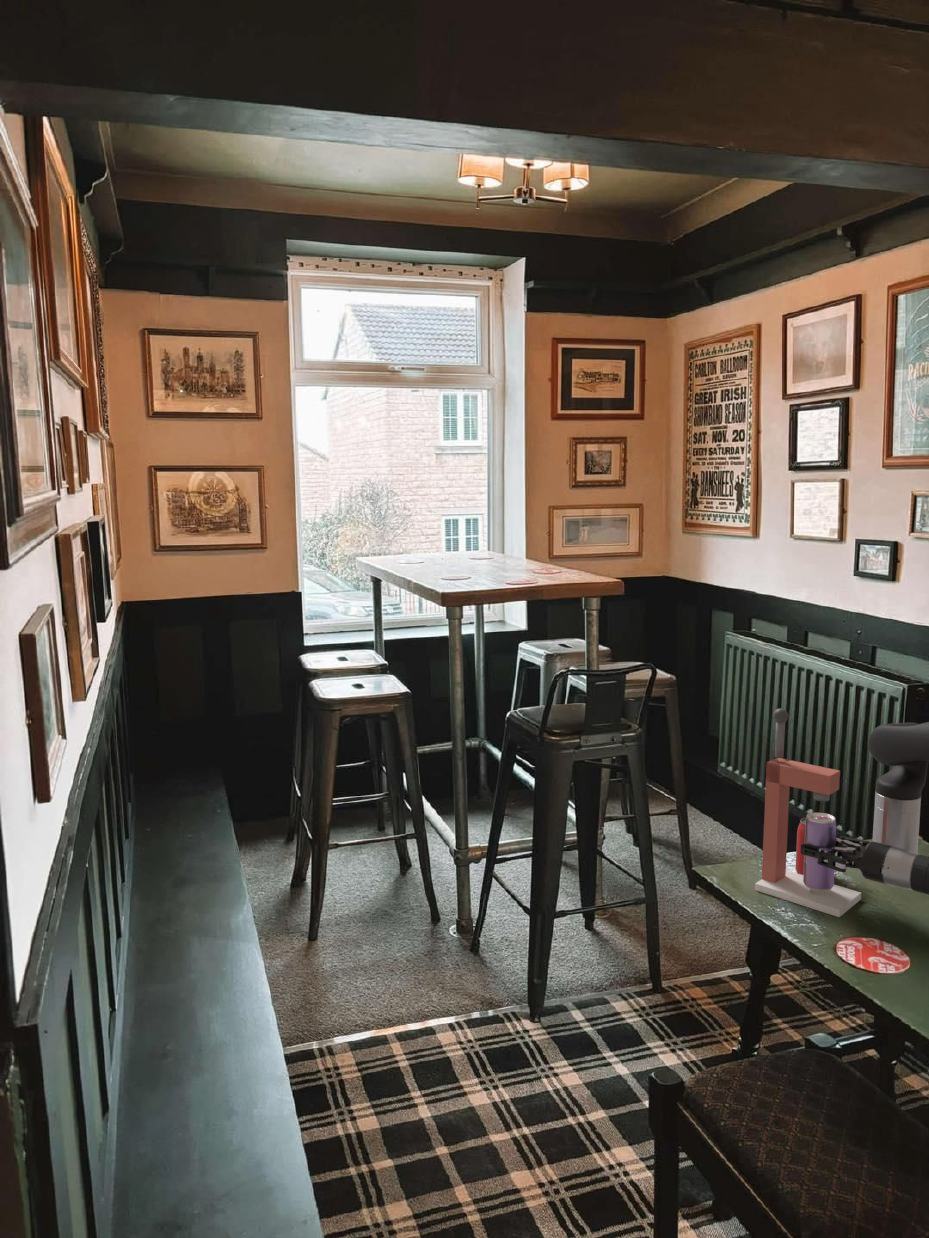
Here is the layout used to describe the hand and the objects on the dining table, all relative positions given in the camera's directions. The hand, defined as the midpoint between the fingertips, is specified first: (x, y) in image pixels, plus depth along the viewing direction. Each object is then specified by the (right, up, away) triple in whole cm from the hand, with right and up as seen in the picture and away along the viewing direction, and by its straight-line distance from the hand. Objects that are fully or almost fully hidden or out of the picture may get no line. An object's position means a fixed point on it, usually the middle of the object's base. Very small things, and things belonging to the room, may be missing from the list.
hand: (808, 843), depth 189 cm
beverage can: (+2, -9, -1) cm, 9 cm away
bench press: (0, -11, +1) cm, 11 cm away
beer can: (+5, -10, +12) cm, 16 cm away
